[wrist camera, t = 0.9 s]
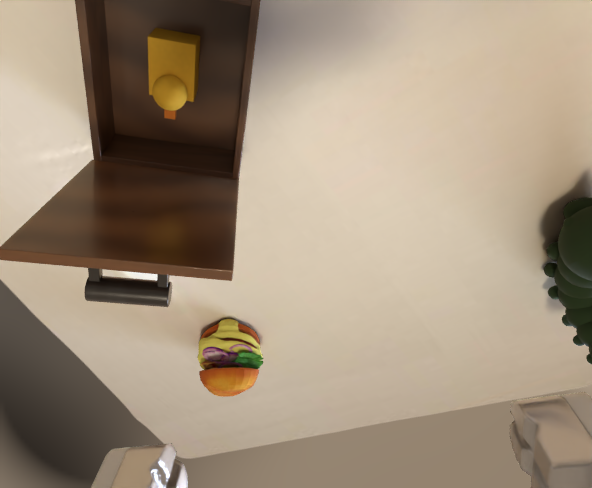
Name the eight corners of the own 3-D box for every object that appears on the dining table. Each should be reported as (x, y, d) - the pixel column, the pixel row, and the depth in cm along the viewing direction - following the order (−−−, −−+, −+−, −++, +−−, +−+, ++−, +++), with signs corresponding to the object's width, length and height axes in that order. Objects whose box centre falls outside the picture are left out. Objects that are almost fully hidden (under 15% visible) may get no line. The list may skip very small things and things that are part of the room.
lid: (-3, 248, 25) (9, 313, 27) (233, 271, 27) (226, 328, 29) (92, 159, 40) (94, 205, 42) (238, 178, 42) (234, 221, 44)
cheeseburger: (262, 314, 64) (264, 379, 58) (262, 343, 72) (264, 403, 66) (195, 316, 63) (189, 383, 57) (203, 346, 71) (199, 406, 65)
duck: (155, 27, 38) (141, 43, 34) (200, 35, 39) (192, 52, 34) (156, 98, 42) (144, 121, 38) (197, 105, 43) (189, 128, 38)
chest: (94, -48, 35) (69, -41, 30) (260, -13, 37) (260, -2, 33) (110, 135, 45) (93, 161, 40) (240, 154, 47) (238, 180, 43)
